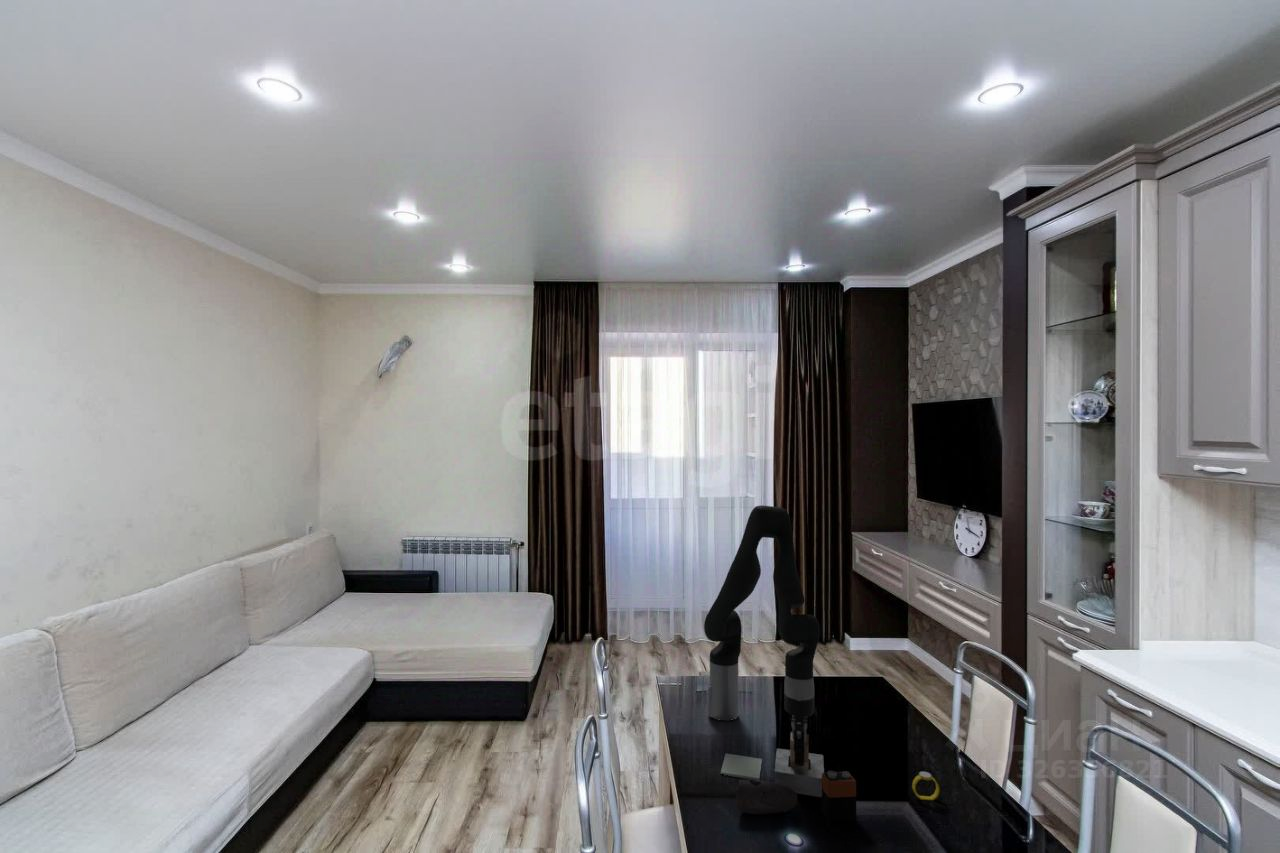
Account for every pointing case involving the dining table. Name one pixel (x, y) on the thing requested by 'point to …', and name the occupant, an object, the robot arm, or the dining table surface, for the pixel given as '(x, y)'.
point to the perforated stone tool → (764, 797)
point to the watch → (926, 777)
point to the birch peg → (806, 754)
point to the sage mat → (741, 766)
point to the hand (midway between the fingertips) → (799, 759)
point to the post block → (799, 774)
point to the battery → (838, 796)
